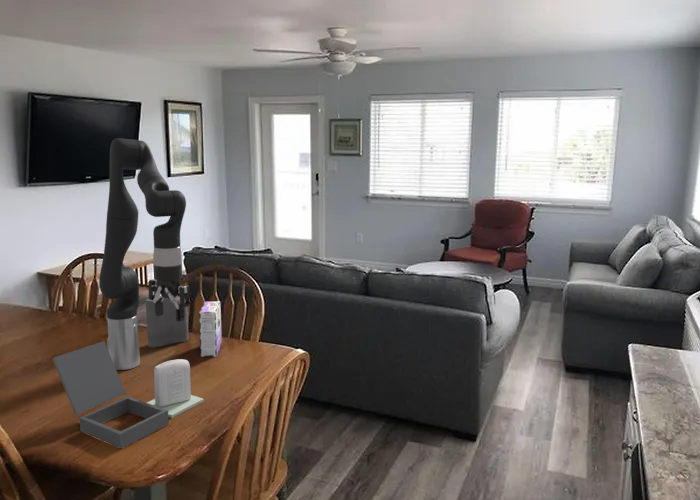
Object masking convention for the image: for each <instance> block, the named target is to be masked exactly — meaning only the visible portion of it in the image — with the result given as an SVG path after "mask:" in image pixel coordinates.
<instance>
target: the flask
mask: <svg viewBox="0 0 700 500" xmlns="http://www.w3.org/2000/svg"><path fill="white" fill-rule="evenodd" d="M177 297H178V295H177ZM177 297H176V298H177ZM161 302H163V315H161V316H156V314H155V303H154V302H153V300H149V298H146V299H145V316H146V333H147V347H149V348H150V349H151V348H152V349H153V348H154V349H155V348H159V347H164V346H167V345H172V344H173V345H174V344H180V343H185V342H188V341H189V339H190V338H189V316H188V315H189V314H188V307H185V308H184V312H185V318H184V320H183V321H180V322H178V321H176V309H177V308H176V306H175V304H174V303H172V302H171V300H170V299H168V298H164V299H163V301H161ZM184 302H185V303H186V299H185V300H184ZM178 303H179V304H180V302H179V301H178Z"/></svg>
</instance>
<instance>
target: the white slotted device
mask: <svg viewBox="0 0 700 500" xmlns="http://www.w3.org/2000/svg"><path fill="white" fill-rule="evenodd" d="M190 365H191V364H190V362H189V361H188V360H187V359H182V358H181V359H179V358H178V359H172V360H167V361H164V362H162V363H160V364H158V365H155V366H154V367H153V368H154V369H153V378H154V379H153V381H154V383H153V385H154V399H155V405H156V406H157V407H162V406H167V405H170V404H174V403H178V402H182V401H186V400H189V399H191V395H192V391H191V390H192V389H191V387H192V386H191V366H190Z"/></svg>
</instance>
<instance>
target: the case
mask: <svg viewBox="0 0 700 500" xmlns="http://www.w3.org/2000/svg"><path fill="white" fill-rule="evenodd" d="M126 413H130V414H132V415H135V416H138V417H140V416H141V418H143V417H144V418H143V419H144V420H141V421H139V422H137V423H135V424H134V425H130V426H129V427H127V428H125V429H123V430H122V431H121V430H118V429H115V428H113V427H110V426H108V425H106V424H104V423H103V422H106V421H108V420H110V421H112V420H114V419H116V418H118V417H120V416H122V415H125V414H126ZM111 419H112V420H111ZM78 420H79V429H80V431H82V432H84V433H86V434H89V435H91V436H94V437H96V438H99V439H101V440H103V441H106V442H108V443H110V444H112V445H114V446H113V447H115V446H116V447H115V448H117V447H119V448H123V447H125V446H126V447H128V446H130V445H132V444H134V443H136V442H138V441H139V439H140V440H141V438H142V439H143V437H144V438H145V437H147V436H149V435H151V434H153V433H155V432H156V430H157V431H159V430H161V429H162V427H163V428H164V427H166V426H168V425H169V417H168V410H165V409H162V408H160V407H157V406H154V405H151V404H148V403H147V402H144V401H142V400H139V399H137V398H133V397H131V396H125V397H124V398H120V399H119V400H116V401H115V402H112V403H110V404H108V405H105V406H102V407H101V408H99V409H96V410H94V411H92V412H89V413H87V414H85V415H82V416H81V417H79V419H78ZM108 422H109V421H108ZM101 423H103V424H101ZM106 423H107V422H106ZM160 428H161V429H160ZM158 429H159V430H158ZM154 431H155V432H154ZM152 432H153V433H152ZM84 433H83V434H84ZM150 433H151V434H150ZM86 434H85V435H86ZM89 435H88V436H89ZM91 436H90V437H91ZM96 438H95V439H96ZM137 440H138V441H137ZM103 441H102V442H103ZM135 441H136V442H135ZM133 442H134V443H133ZM131 443H132V444H131ZM110 444H109V445H110ZM129 444H130V445H129ZM112 445H111V446H112ZM127 445H128V446H127ZM126 447H125V448H126ZM119 448H118V449H119ZM123 449H124V448H123Z"/></svg>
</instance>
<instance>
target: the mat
mask: <svg viewBox="0 0 700 500" xmlns="http://www.w3.org/2000/svg"><path fill="white" fill-rule="evenodd" d="M204 402H205V399H204V398H202V397H199V396H196V395H192V394H191V399H189V400H186V401H182V402H178V403H174V404H170V405H167V406H162V407H160V408H162V409H165V410H168V418H171V419H173V418H175V417H177V416H178V415H180V414H182V413H184V412H187V411H188V410H190V409H192V408H194V407H196V406H198V405H200V404H202V403H204ZM146 403H148V404H151V405H154V406H156V405H155V398H153V399H152V400H151V399H150V401H147V402H146Z"/></svg>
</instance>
